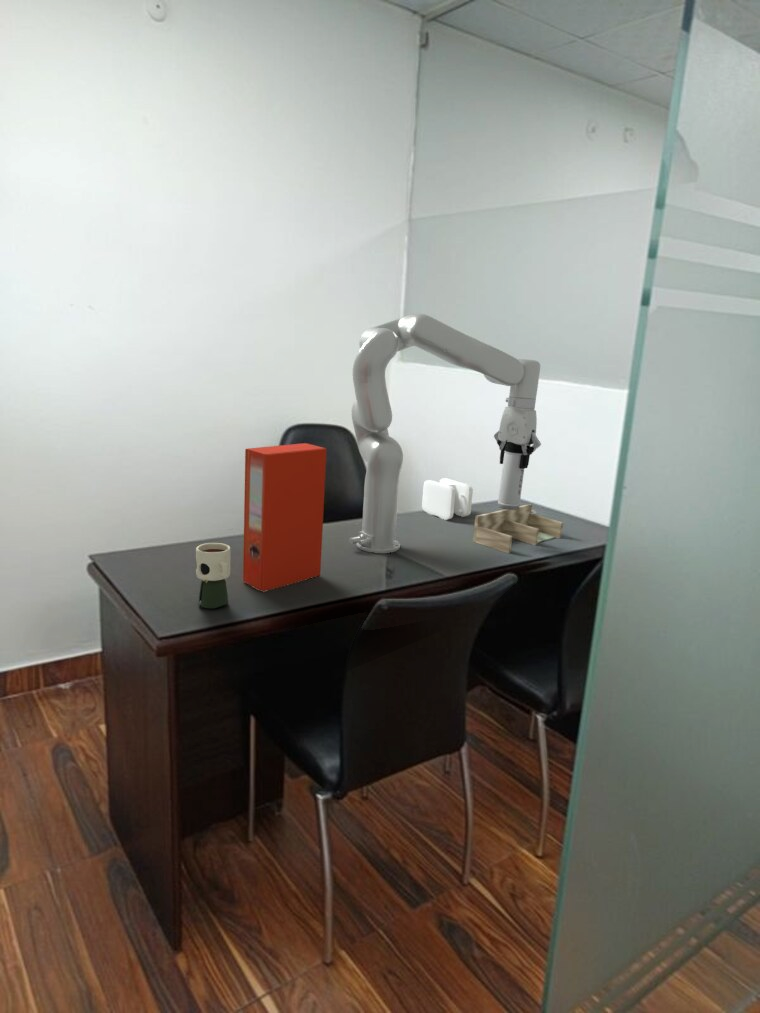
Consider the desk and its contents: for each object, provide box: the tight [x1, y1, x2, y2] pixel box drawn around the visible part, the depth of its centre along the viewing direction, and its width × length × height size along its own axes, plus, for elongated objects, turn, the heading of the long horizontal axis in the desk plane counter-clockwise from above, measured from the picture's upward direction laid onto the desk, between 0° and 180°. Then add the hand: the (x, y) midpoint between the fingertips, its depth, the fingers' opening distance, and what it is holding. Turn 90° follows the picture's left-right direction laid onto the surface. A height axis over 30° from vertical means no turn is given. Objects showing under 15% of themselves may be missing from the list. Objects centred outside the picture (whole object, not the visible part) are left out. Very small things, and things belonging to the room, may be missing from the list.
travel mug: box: [497, 440, 525, 510], centre depth 195 cm, size 6×7×20 cm
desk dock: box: [472, 503, 564, 554], centre depth 204 cm, size 28×13×8 cm, turn 134°
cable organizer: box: [421, 477, 473, 521], centre depth 227 cm, size 15×11×12 cm
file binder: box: [242, 442, 327, 591], centre depth 157 cm, size 8×17×32 cm, turn 136°
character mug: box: [195, 542, 232, 609], centre depth 142 cm, size 11×7×13 cm, turn 41°
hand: (513, 465), depth 194 cm, fingers closed on travel mug, 6 cm apart
